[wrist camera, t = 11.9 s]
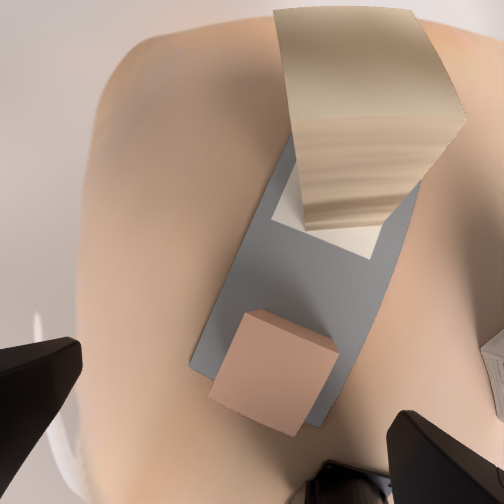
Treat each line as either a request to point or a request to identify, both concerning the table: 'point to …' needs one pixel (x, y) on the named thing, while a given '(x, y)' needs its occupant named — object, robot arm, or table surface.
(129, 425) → the table surface
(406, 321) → the table surface
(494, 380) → the supplement box
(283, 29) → the beech post
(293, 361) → the terracotta block
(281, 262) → the mat
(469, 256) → the table surface
